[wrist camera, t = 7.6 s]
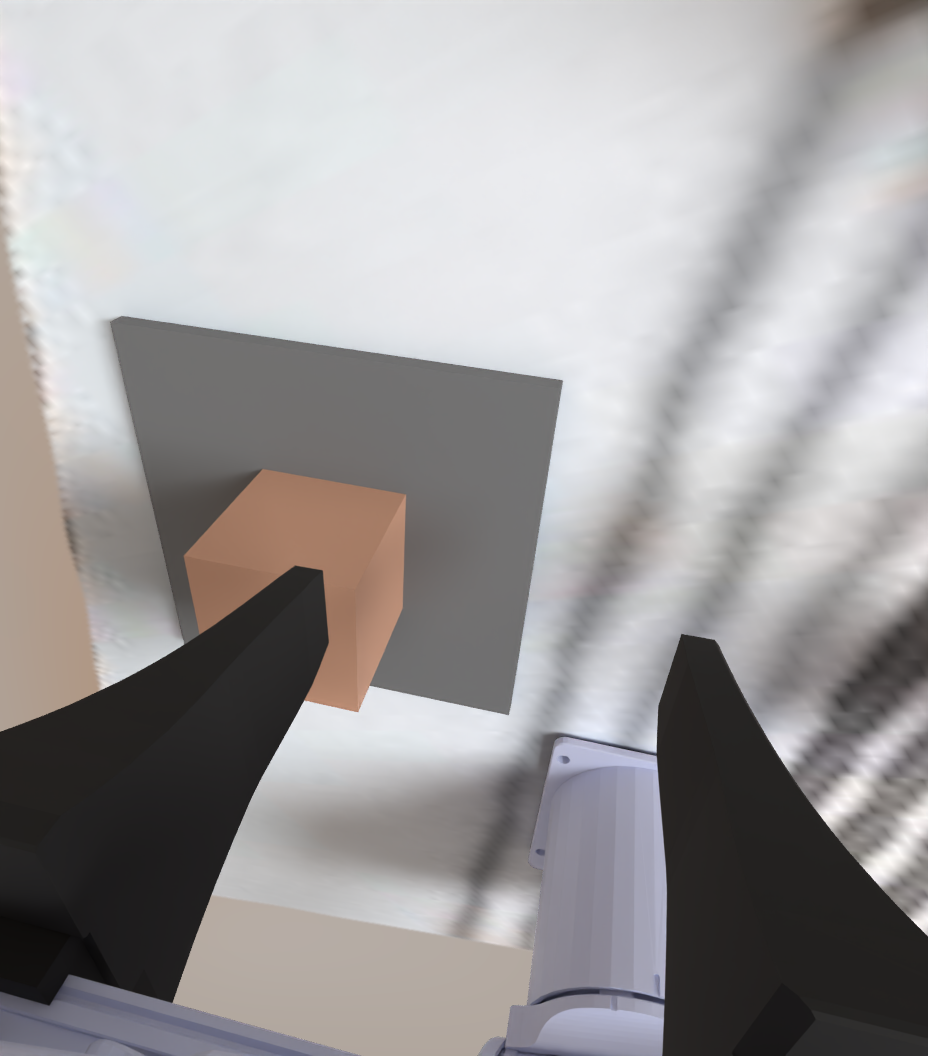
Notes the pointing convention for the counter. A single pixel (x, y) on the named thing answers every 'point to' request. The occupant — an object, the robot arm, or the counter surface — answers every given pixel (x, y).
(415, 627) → the mat
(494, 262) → the counter surface
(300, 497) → the cube
